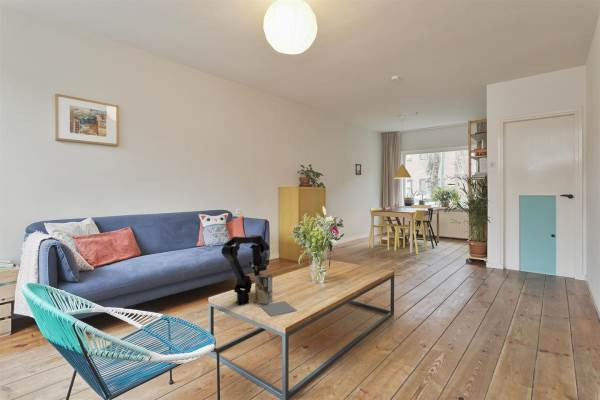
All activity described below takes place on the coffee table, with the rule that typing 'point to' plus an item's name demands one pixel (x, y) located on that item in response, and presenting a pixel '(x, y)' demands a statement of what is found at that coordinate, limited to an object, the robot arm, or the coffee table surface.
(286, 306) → the mat
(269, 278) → the coffee box
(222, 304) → the coffee table surface
